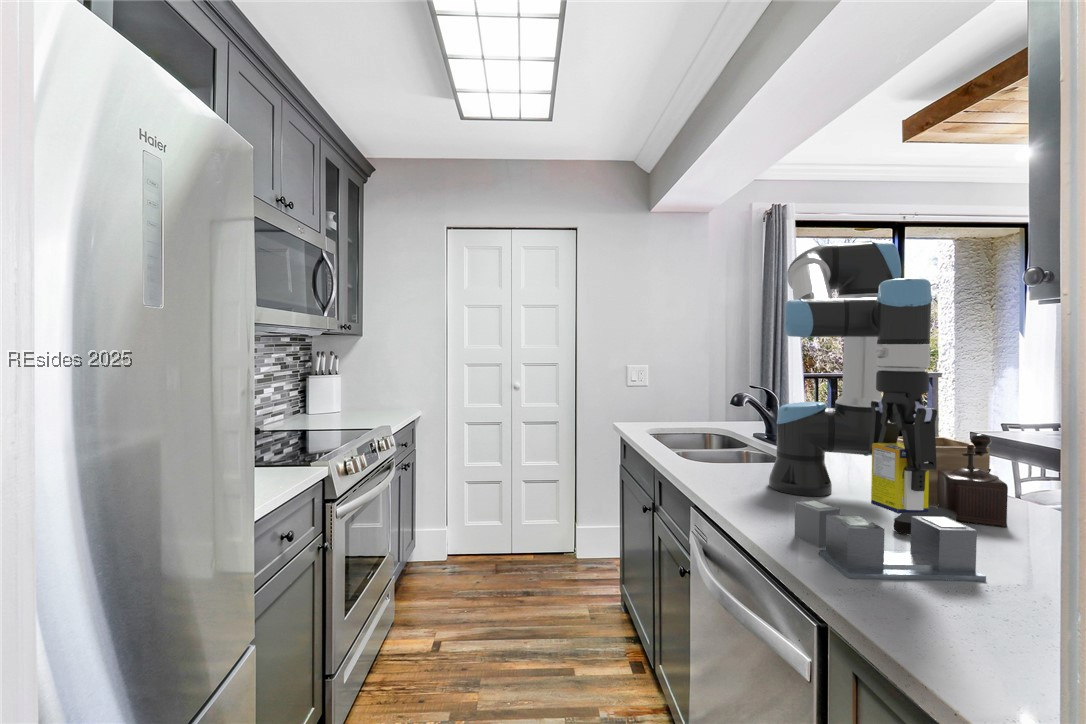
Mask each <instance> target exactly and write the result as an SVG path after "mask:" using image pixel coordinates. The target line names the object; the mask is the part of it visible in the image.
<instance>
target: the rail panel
mask: <svg viewBox="0 0 1086 724" xmlns="http://www.w3.org/2000/svg"><path fill="white" fill-rule="evenodd" d="M977 535H978V531H977V529H976V528H972V527H970V526H968V525H966V524H963V523H962V522H956V521H954V520H952V519H950V518H947V517H934V516H911V535H910V551H908V550H907V551H906V550H905V551H903V550H902V551H901V550H900V551H899V550H897V551H896V550H885V528H884V527H882V526H880V525H878V524H877V523H874V522H873V521H871V520H869V519H868V518H866V517H864V516H862V515H855V514H840V515H826V547H825V549H818V555H819V556H820V557H822V559H824V560H825V561H826V562H828V563H829V564H830V565H831V566H833V567H834V568H835V569H836V570H837V571H839V572H840V573H841V574H843V576H845V577H846V578H847V579H857V580H858V579H865V580H866V579H867V580H868V579H869V580H870V579H871V580H909V581H910V580H913V581H914V580H915V581H918V580H920V581H923V580H924V581H926V580H927V581H961V582H962V581H964V582H965V581H966V582H973V581H975V582H987V576H986V575H985V574H983V573H981V572H979V571H978V570H977V566H976V565H977V544H978V542H977V540H978V539H977V537H978V536H977Z"/></svg>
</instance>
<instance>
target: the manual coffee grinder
mask: <svg viewBox="0 0 1086 724" xmlns="http://www.w3.org/2000/svg"><path fill="white" fill-rule="evenodd" d="M969 440H970V443H971V444H969V445H968V446H967V449H968V450H967V452H965V453H962V455H963V456H968V466H967V467H962V468H959V469H956V470H954V471H940V470H938V481H937V497H938V504H937V508H944V509H949V510H953V511H956V514H957V516H956V522H959V523H962V522H963V523H964V524H970V525H971V524H972V525H980V526H986V527H987V526H989V527H997V528H1005V529H1006V528H1008V523H1007V522H1008V495H1009V494H1008V493H1009V487H1008V483H1006V482H1004V481H1003V480H1001V479H1000V477H999V476H997V475H995V474H991V473H990V472H991V470H992V469H991V468H989V470H988V471H984V470H982V469H979V468H977V467H974V464H973V456H976V455H979V456H982V455H984V454H989V452H988V450H987V447H988V448H989V446H990V445H991V444H992V441H993V440H992V438H991V437H990V436H988V435H987V434H983V433H975V434H973V435H971V437H970V439H969ZM972 444H974V445H972ZM974 446H975V449H974ZM963 523H962V524H963Z"/></svg>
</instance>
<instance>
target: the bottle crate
mask: <svg viewBox="0 0 1086 724" xmlns="http://www.w3.org/2000/svg"><path fill="white" fill-rule="evenodd" d="M935 440H936V464H937V468H936V469H935V470H929V496H928V505H938V497H937V481H938V470H940V471H954V470H956V469H959V468H962V467H967V466H968V456H963V455H962V453H965V452H967V450H968V449H967V446H968V445H969V444H972V445H974V444H973V443H972V442H966V441H963V440H958V439H953V438H948V437H945V436H935ZM897 443H904V442H903V437H902V436H898V439H897ZM974 449H975V446H974ZM987 450H988V452H989V454H984V455H982V456H979V455H976V456H973V464H974V467H977V468H979V469H982V470H984V471H988V470H989V469H990V462H991V461H990V459H991V458H990V457H991V448H990V447H989V446H988V447H987Z"/></svg>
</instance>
